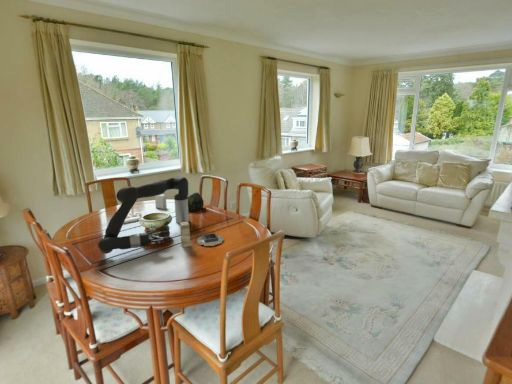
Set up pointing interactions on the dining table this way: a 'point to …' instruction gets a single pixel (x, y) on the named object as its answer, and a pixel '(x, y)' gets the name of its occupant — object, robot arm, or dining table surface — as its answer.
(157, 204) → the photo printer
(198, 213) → the dining table surface
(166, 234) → the robot arm
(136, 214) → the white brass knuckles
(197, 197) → the squash
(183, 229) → the wedge peg
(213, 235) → the rosette plate
